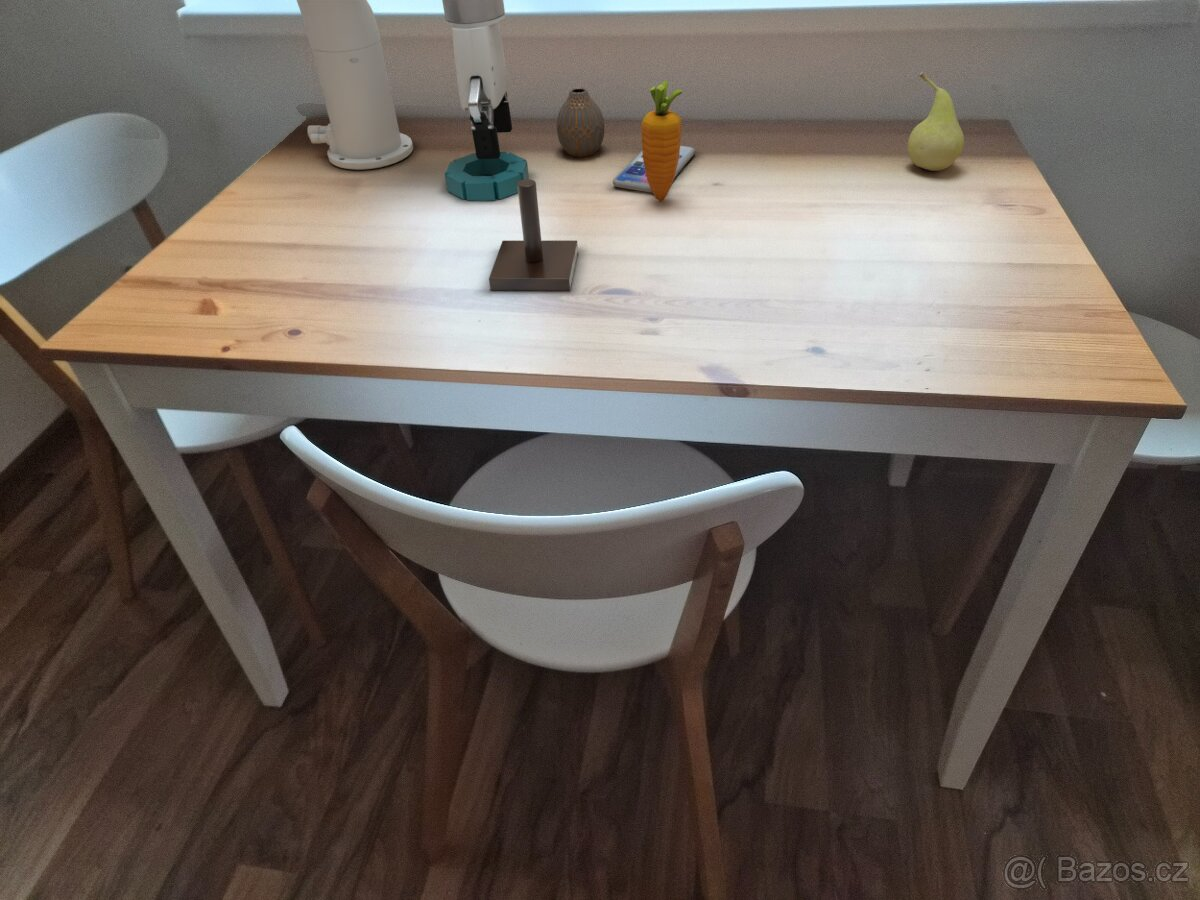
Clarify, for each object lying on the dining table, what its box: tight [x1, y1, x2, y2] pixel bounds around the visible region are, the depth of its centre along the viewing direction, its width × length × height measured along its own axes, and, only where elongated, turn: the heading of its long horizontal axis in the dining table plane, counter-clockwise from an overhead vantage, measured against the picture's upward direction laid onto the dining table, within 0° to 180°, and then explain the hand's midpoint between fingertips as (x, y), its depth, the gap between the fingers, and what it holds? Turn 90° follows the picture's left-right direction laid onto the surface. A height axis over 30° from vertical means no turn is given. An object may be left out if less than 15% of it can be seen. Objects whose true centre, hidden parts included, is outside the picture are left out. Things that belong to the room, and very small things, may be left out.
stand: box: [488, 178, 579, 292], centre depth 90 cm, size 9×9×10 cm
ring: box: [444, 151, 530, 202], centre depth 111 cm, size 11×11×2 cm
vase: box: [556, 87, 605, 158], centre depth 116 cm, size 7×7×9 cm
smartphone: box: [612, 145, 696, 194], centre depth 113 cm, size 7×1×15 cm
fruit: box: [906, 71, 965, 172], centre depth 106 cm, size 7×8×12 cm
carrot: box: [640, 80, 683, 203], centre depth 100 cm, size 5×5×15 cm
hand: (495, 144), depth 112 cm, fingers open, 9 cm apart
